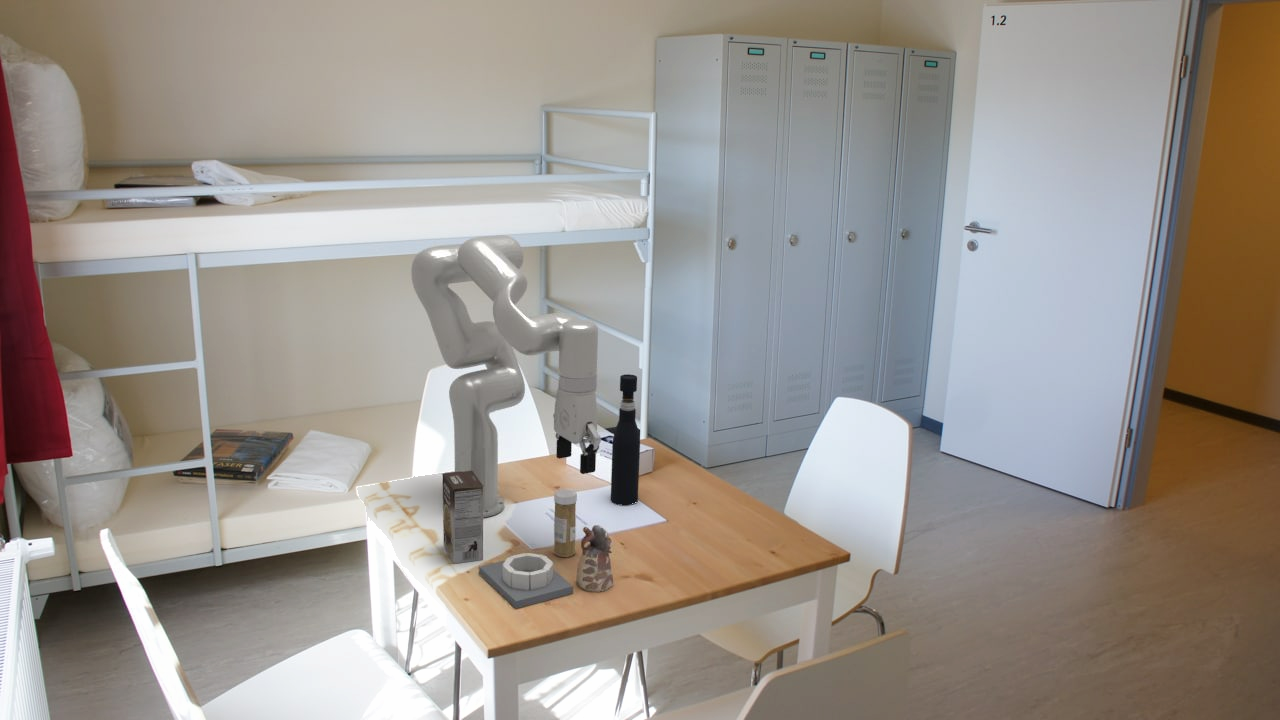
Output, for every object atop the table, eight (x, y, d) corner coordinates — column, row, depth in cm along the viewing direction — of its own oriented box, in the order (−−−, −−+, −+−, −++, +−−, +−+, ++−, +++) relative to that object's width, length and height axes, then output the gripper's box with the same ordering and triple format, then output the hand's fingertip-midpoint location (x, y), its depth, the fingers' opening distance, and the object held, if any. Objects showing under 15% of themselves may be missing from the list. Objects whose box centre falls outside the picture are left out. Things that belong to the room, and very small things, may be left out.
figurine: (616, 591, 191) (618, 532, 188) (579, 593, 190) (581, 534, 186) (609, 573, 198) (611, 517, 195) (574, 576, 196) (575, 519, 193)
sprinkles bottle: (579, 555, 205) (581, 493, 202) (559, 559, 203) (561, 497, 200) (568, 546, 209) (569, 486, 206) (549, 551, 207) (550, 490, 203)
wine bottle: (617, 507, 230) (622, 381, 223) (605, 497, 236) (609, 374, 228) (642, 503, 233) (647, 378, 226) (630, 493, 239) (634, 371, 231)
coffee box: (442, 546, 207) (441, 472, 203) (472, 541, 210) (472, 469, 206) (452, 564, 199) (451, 488, 195) (484, 560, 202) (484, 484, 198)
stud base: (479, 573, 196) (479, 552, 195) (533, 560, 202) (534, 539, 201) (515, 608, 183) (516, 586, 182) (573, 593, 189) (573, 571, 188)
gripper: (540, 374, 203) (539, 454, 207) (582, 396, 189) (580, 482, 193) (572, 370, 207) (571, 449, 211) (616, 391, 193) (613, 475, 197)
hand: (575, 464), depth 202 cm, fingers open, 9 cm apart
